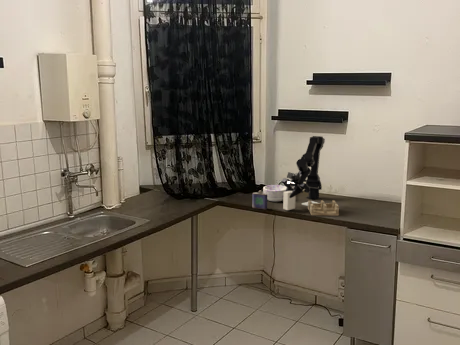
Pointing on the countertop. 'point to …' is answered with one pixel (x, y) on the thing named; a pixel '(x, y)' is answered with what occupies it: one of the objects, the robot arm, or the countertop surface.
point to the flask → (259, 200)
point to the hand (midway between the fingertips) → (287, 197)
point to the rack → (323, 208)
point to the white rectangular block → (288, 201)
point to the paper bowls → (274, 192)
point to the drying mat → (307, 203)
